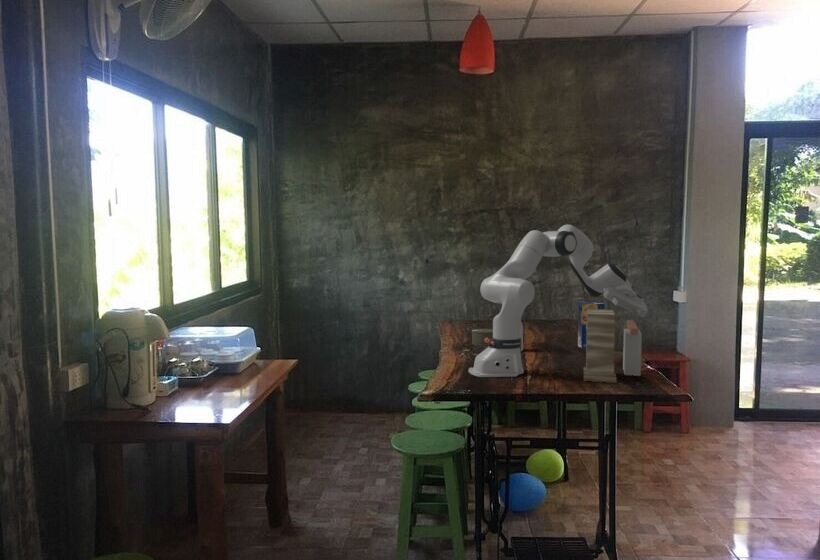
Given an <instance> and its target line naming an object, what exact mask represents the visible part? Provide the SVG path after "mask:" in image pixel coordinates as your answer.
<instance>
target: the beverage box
mask: <svg viewBox="0 0 820 560" xmlns="http://www.w3.org/2000/svg"><path fill="white" fill-rule="evenodd" d="M587 309H604V310H605V302H600V301H599V302H598V301H590V302H588V301H585V302H584V301H583V302H580V301H579V302H578V310H577V311H578V313H577V314H578V315H577V316H578V319H577V321H578V324H577V327H578V329H577V347H578V348H580V347H581V348H580V349H586V344H587Z"/></svg>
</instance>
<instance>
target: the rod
mask: <svg viewBox="0 0 820 560" xmlns="http://www.w3.org/2000/svg"><path fill="white" fill-rule="evenodd" d="M626 328H627V329H629V331H630V333H631V335H638V329H639V328H638V326H637V323H635V321H634V320H633V319H627V320H626Z"/></svg>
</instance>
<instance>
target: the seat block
mask: <svg viewBox="0 0 820 560" xmlns="http://www.w3.org/2000/svg"><path fill="white" fill-rule="evenodd" d="M642 336H643V334H642V332H641V329H639V328H638V335H631V333H630V331H629V329H628V328H623V345H622V346H623V353H622V356H623V357H622V370H624V371H623V373H624V376H632V375H633V376H636V377H640V376H641V374H642V342H643V341H642V339H643V337H642Z"/></svg>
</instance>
